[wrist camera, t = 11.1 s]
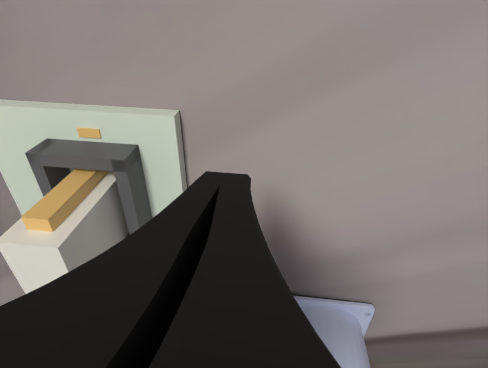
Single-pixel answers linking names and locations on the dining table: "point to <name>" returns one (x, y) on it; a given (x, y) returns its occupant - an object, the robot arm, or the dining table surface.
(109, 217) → the plug
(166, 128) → the board
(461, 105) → the dining table surface
